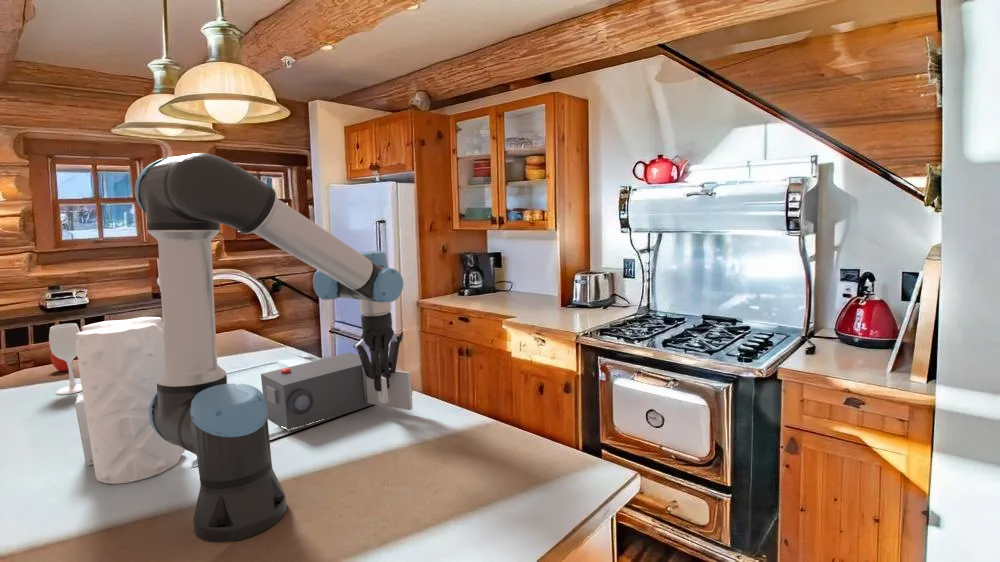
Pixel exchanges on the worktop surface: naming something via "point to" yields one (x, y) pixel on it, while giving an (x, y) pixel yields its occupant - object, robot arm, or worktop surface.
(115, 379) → the vase
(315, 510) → the worktop surface
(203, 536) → the robot arm
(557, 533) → the worktop surface
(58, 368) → the apple
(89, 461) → the skincare box
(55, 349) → the wineglass
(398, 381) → the side door
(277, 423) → the camera body
